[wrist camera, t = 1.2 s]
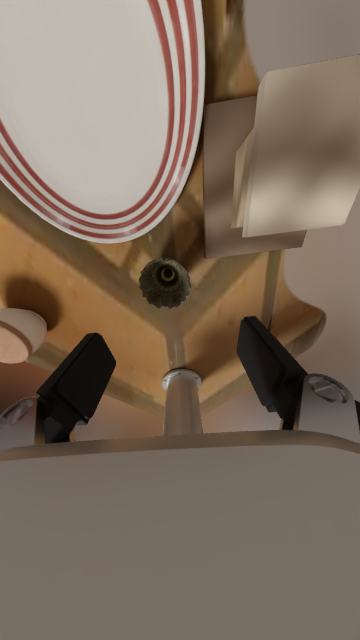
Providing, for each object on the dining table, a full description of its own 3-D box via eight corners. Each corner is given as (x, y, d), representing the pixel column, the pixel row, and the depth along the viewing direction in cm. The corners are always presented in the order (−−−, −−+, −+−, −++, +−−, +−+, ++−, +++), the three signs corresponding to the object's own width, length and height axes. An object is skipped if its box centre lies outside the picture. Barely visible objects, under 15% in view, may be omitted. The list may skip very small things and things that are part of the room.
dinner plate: (117, 275, 27) (109, 280, 24) (-85, 95, 16) (-142, 65, 13) (244, 127, 17) (257, 107, 15) (-37, -573, 6) (-206, -1208, 4)
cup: (148, 289, 28) (138, 306, 21) (149, 249, 24) (137, 254, 17) (184, 293, 29) (186, 312, 22) (190, 255, 25) (195, 263, 18)
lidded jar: (-1, 322, 32) (-60, 351, 24) (9, 289, 28) (-59, 311, 20) (49, 345, 36) (12, 377, 28) (64, 320, 32) (26, 348, 24)
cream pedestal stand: (295, 246, 24) (357, 252, 16) (204, 257, 25) (217, 269, 17) (340, 90, 16) (527, -76, 7) (201, 114, 17) (226, -10, 8)
